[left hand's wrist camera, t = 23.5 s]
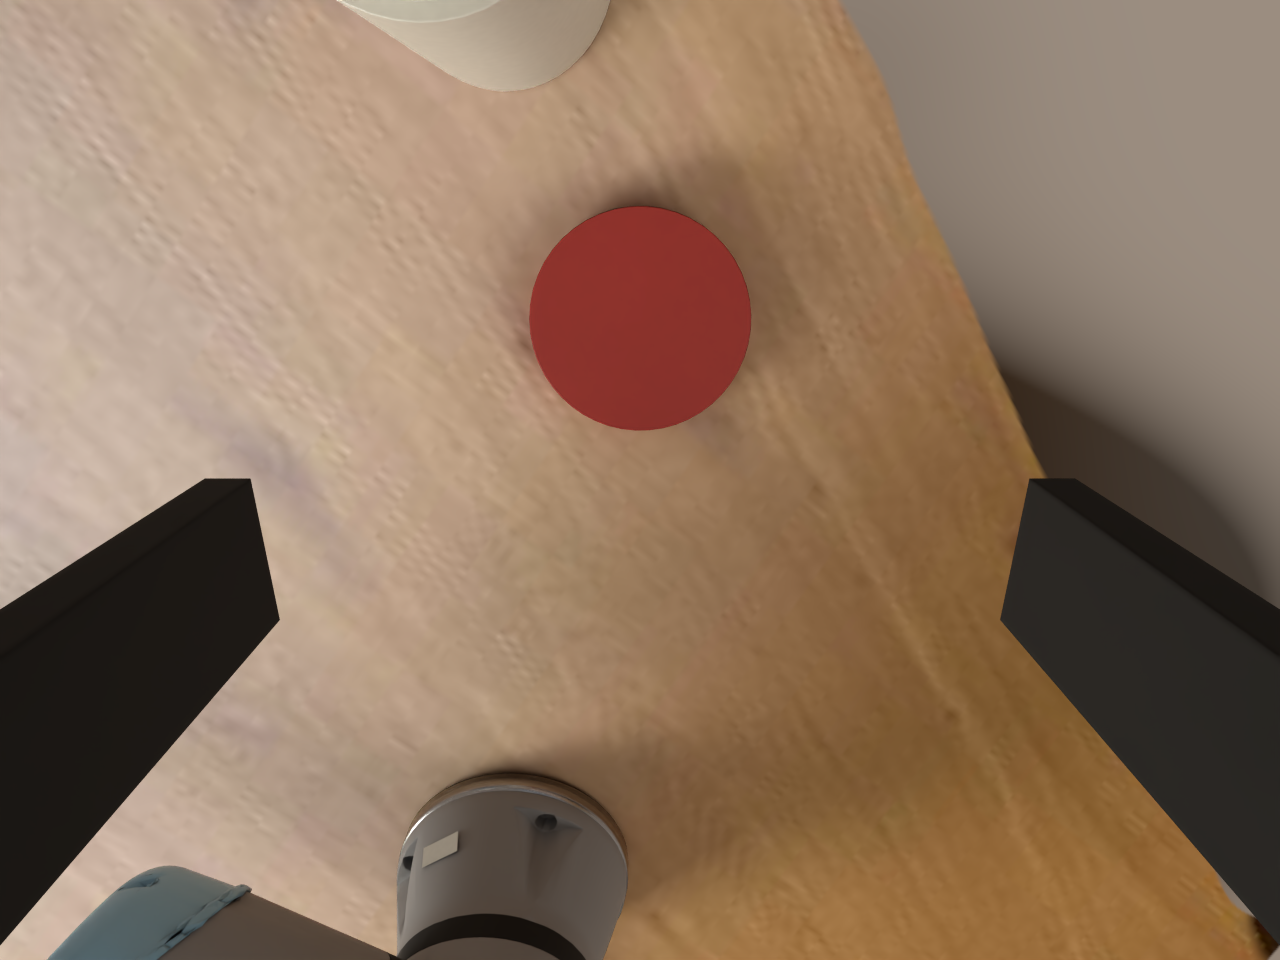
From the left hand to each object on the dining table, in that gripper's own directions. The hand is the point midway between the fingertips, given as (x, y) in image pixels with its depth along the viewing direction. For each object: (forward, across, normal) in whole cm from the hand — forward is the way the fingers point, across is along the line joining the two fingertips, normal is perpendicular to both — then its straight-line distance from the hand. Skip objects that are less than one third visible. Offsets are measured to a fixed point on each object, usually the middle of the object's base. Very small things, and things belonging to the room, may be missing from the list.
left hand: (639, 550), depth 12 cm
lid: (+24, 0, 0) cm, 24 cm away
